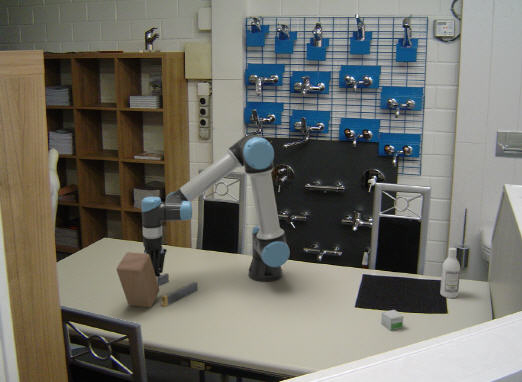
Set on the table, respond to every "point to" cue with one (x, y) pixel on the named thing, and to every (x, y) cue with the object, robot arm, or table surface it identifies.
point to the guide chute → (176, 294)
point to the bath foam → (450, 275)
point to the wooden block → (138, 279)
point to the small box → (392, 320)
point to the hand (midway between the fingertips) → (155, 291)
